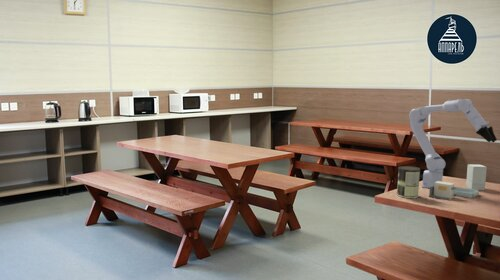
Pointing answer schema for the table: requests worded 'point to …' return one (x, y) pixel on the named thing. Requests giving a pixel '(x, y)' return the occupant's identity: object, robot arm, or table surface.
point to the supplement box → (476, 177)
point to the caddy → (444, 189)
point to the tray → (466, 192)
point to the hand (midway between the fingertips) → (492, 141)
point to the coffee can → (408, 181)
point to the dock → (437, 196)
